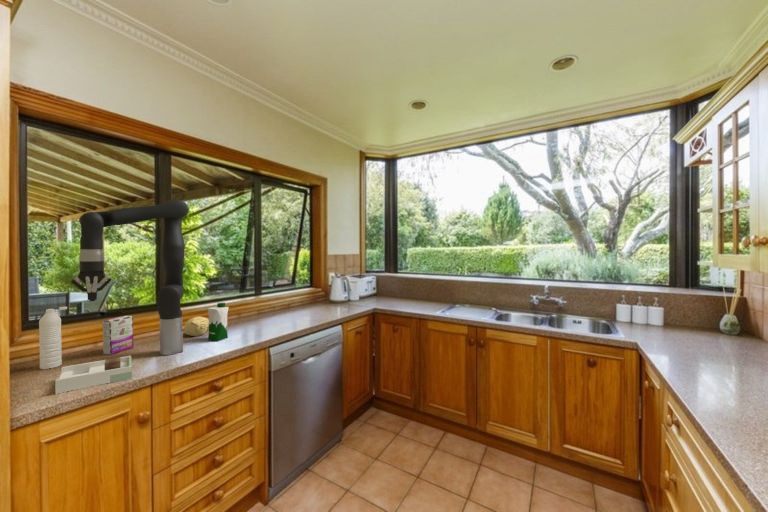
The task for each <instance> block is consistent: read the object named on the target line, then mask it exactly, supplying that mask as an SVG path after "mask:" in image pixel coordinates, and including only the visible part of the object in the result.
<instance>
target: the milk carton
mask: <svg viewBox="0 0 768 512" xmlns="http://www.w3.org/2000/svg"><path fill="white" fill-rule="evenodd" d="M229 308H230V307H229V306H227V305H226V302H218V303H217V305H216V306H211V307H207V308H206V309H207V313H208V319H209V326H208V339H207V340H208V341H214V342H219V341H223V340H226V339H228V337H229V336H228V334H229V333H228V313H229ZM225 338H226V339H225Z"/></svg>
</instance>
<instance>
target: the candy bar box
mask: <svg viewBox="0 0 768 512" xmlns="http://www.w3.org/2000/svg"><path fill="white" fill-rule="evenodd" d="M133 319H134V318H133V316H132V315H124V316H123V315H122V316H118V317H114V318H110V319H106V320H102V342H103V343H102V345H103V346H102V349H103V355H108V354H109V355H110V356H112V355H115V354H119V353H120V352H125V351H127V350H130V349H132V348H134V322H133V321H134V320H133Z"/></svg>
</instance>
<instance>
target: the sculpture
mask: <svg viewBox="0 0 768 512" xmlns="http://www.w3.org/2000/svg"><path fill="white" fill-rule="evenodd" d="M208 329H209V318H207V317H204V316H200V315H199V316H194V317H191V318H190V319H188V320H187V321H186V322H185V324H184V329H183V330H184V333H185V334H186V335H187V336H192V337H199V336H203V335H204V334H206V332H207V330H208Z"/></svg>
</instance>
